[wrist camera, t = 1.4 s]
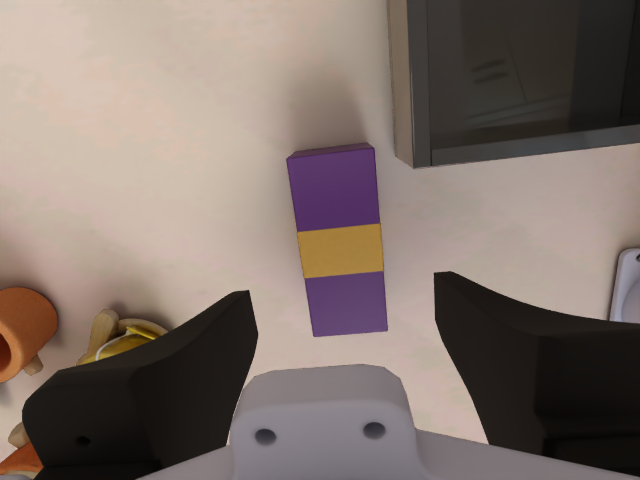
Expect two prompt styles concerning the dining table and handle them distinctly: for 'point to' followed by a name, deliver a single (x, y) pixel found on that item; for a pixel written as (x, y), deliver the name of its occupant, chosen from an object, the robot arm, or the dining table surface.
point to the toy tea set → (33, 333)
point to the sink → (512, 78)
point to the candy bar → (340, 238)
